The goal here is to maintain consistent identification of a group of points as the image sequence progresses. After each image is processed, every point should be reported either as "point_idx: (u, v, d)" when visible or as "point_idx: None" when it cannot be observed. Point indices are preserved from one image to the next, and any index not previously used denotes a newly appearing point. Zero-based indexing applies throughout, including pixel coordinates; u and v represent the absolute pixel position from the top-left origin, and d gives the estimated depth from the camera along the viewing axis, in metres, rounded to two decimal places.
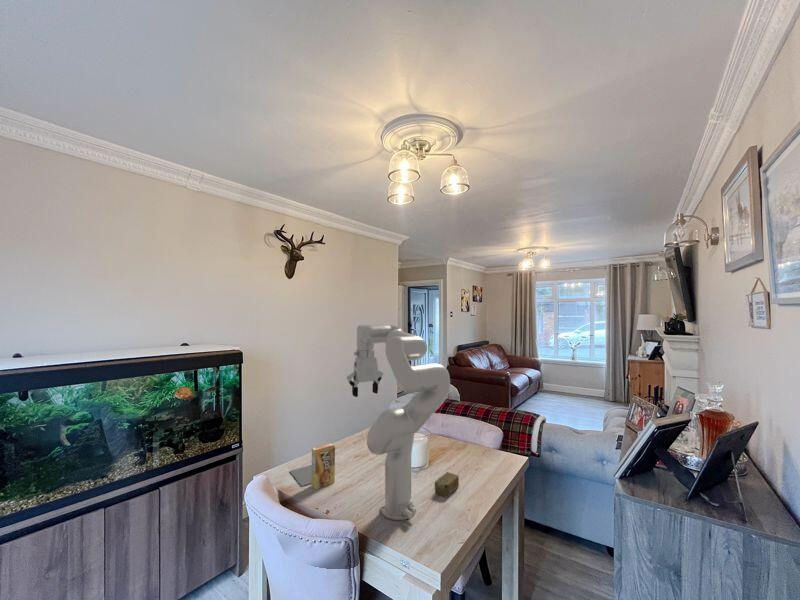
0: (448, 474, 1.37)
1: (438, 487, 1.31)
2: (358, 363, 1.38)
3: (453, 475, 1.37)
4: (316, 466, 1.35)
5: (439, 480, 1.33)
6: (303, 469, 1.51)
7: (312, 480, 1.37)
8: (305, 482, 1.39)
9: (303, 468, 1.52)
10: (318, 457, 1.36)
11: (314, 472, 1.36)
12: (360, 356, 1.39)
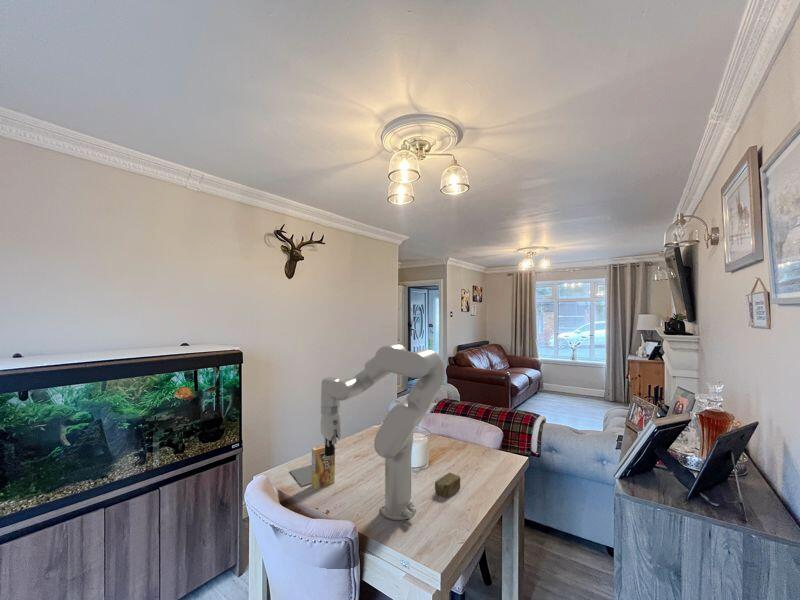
0: (450, 475, 1.37)
1: (438, 486, 1.31)
2: (339, 419, 1.32)
3: (455, 476, 1.37)
4: (316, 466, 1.35)
5: (439, 480, 1.33)
6: (303, 469, 1.51)
7: (312, 480, 1.37)
8: (305, 482, 1.39)
9: (303, 468, 1.52)
10: (318, 457, 1.36)
11: (314, 472, 1.36)
12: (337, 412, 1.33)
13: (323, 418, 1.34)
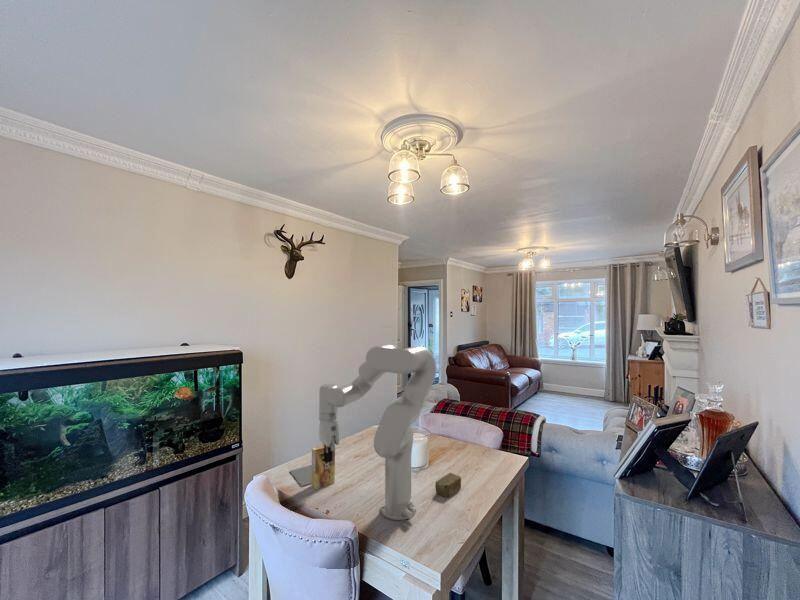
0: (450, 475, 1.37)
1: (438, 487, 1.30)
2: (337, 426, 1.33)
3: (455, 476, 1.36)
4: (316, 466, 1.35)
5: (440, 480, 1.33)
6: (303, 469, 1.51)
7: (312, 480, 1.37)
8: (305, 482, 1.39)
9: (303, 468, 1.52)
10: (318, 457, 1.36)
11: (314, 472, 1.36)
12: (335, 418, 1.34)
13: (321, 425, 1.35)
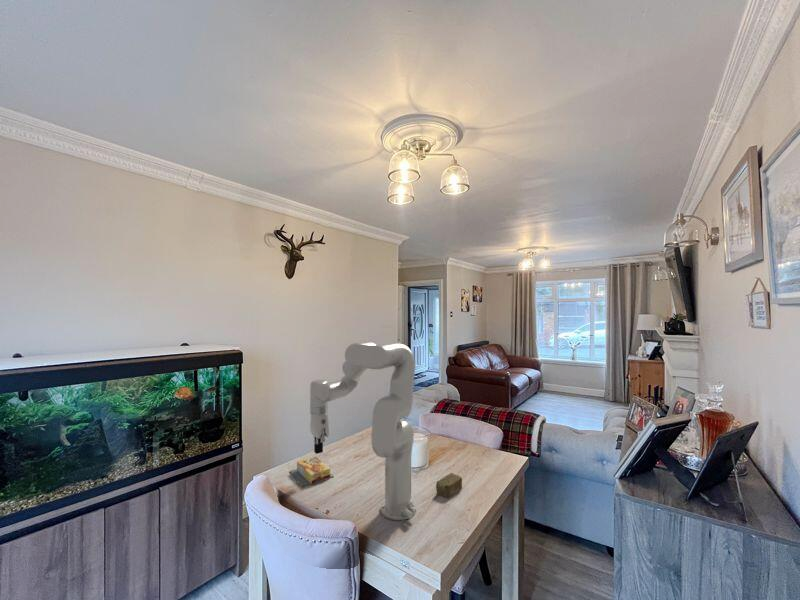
0: (451, 475, 1.36)
1: (439, 487, 1.30)
2: (327, 419, 1.41)
3: (456, 476, 1.36)
4: (303, 466, 1.45)
5: (441, 480, 1.32)
6: None
7: (308, 479, 1.40)
8: (305, 482, 1.39)
9: None
10: (302, 462, 1.49)
11: (304, 471, 1.43)
12: (325, 412, 1.42)
13: (312, 418, 1.43)
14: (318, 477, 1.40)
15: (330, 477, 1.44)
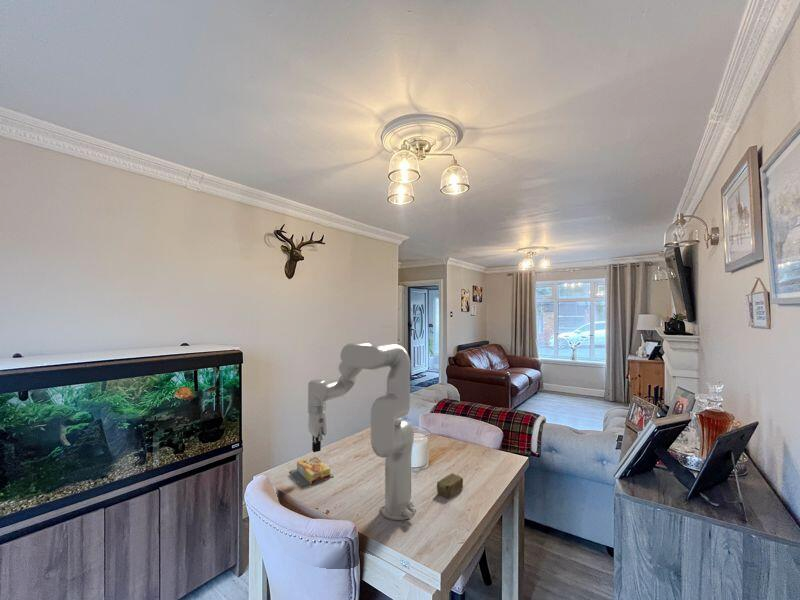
0: (452, 476, 1.36)
1: (440, 487, 1.30)
2: (324, 418, 1.44)
3: (457, 477, 1.36)
4: (303, 466, 1.45)
5: (442, 481, 1.32)
6: None
7: (308, 479, 1.40)
8: (305, 482, 1.39)
9: None
10: (302, 462, 1.49)
11: (304, 471, 1.43)
12: (323, 411, 1.44)
13: (310, 417, 1.45)
14: (318, 477, 1.40)
15: (330, 477, 1.44)
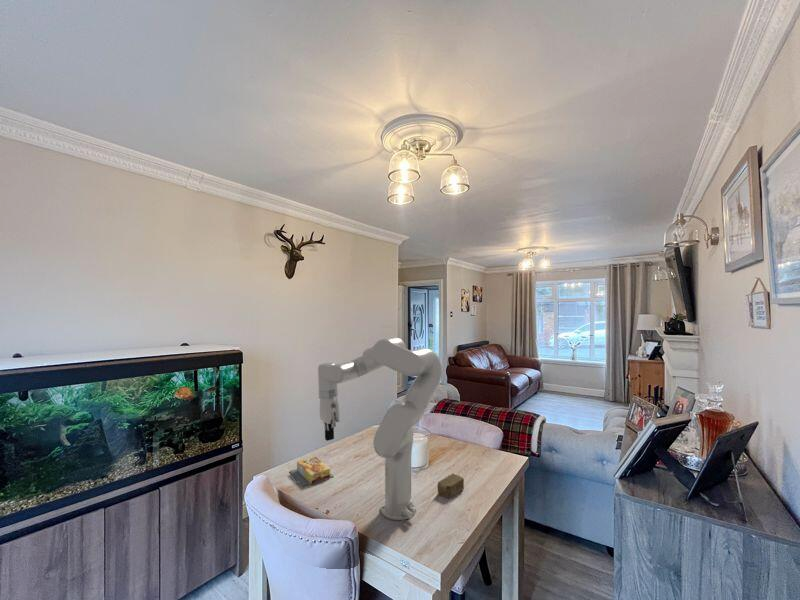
0: (453, 476, 1.36)
1: (440, 487, 1.30)
2: (337, 403, 1.34)
3: (458, 477, 1.35)
4: (303, 466, 1.45)
5: (442, 481, 1.32)
6: None
7: (308, 479, 1.40)
8: (305, 482, 1.39)
9: None
10: (302, 462, 1.49)
11: (304, 471, 1.43)
12: (335, 395, 1.35)
13: (321, 403, 1.36)
14: (318, 477, 1.40)
15: (330, 477, 1.44)
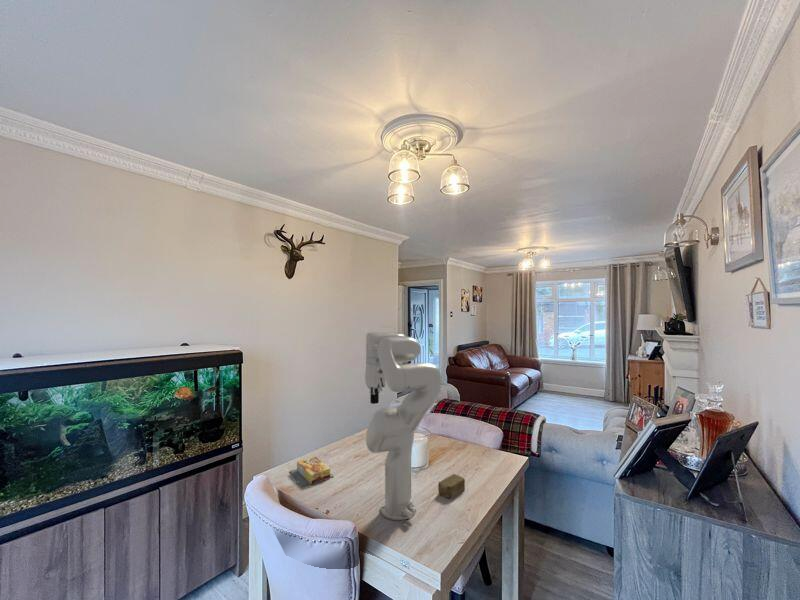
0: (454, 476, 1.36)
1: (441, 488, 1.30)
2: None
3: (459, 477, 1.35)
4: (303, 466, 1.45)
5: (443, 481, 1.32)
6: None
7: (308, 479, 1.40)
8: (305, 482, 1.39)
9: None
10: (302, 462, 1.49)
11: (304, 471, 1.43)
12: None
13: (368, 369, 1.45)
14: (318, 477, 1.40)
15: (330, 477, 1.44)
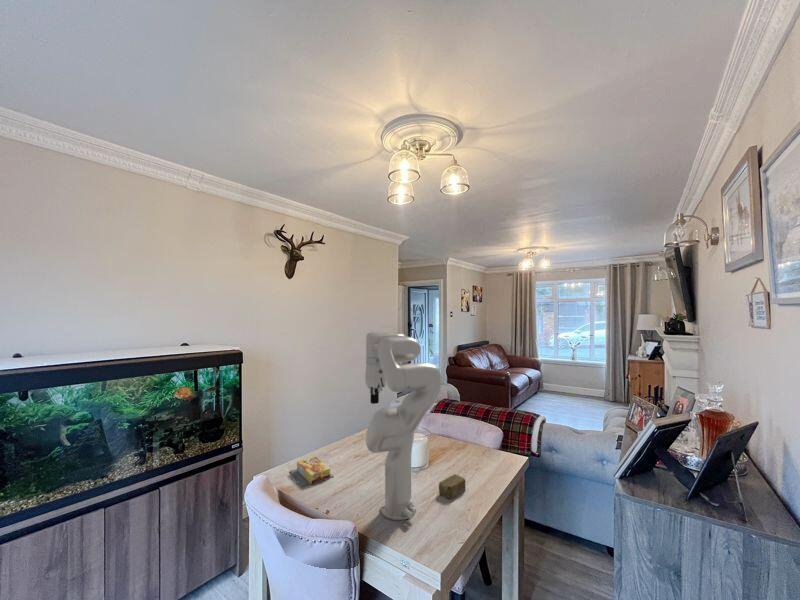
0: (455, 477, 1.35)
1: (442, 488, 1.30)
2: None
3: (460, 478, 1.35)
4: (303, 466, 1.45)
5: (444, 481, 1.32)
6: None
7: (308, 479, 1.40)
8: (305, 482, 1.39)
9: None
10: (302, 462, 1.49)
11: (304, 471, 1.43)
12: None
13: (368, 369, 1.45)
14: (318, 477, 1.40)
15: (330, 477, 1.44)
